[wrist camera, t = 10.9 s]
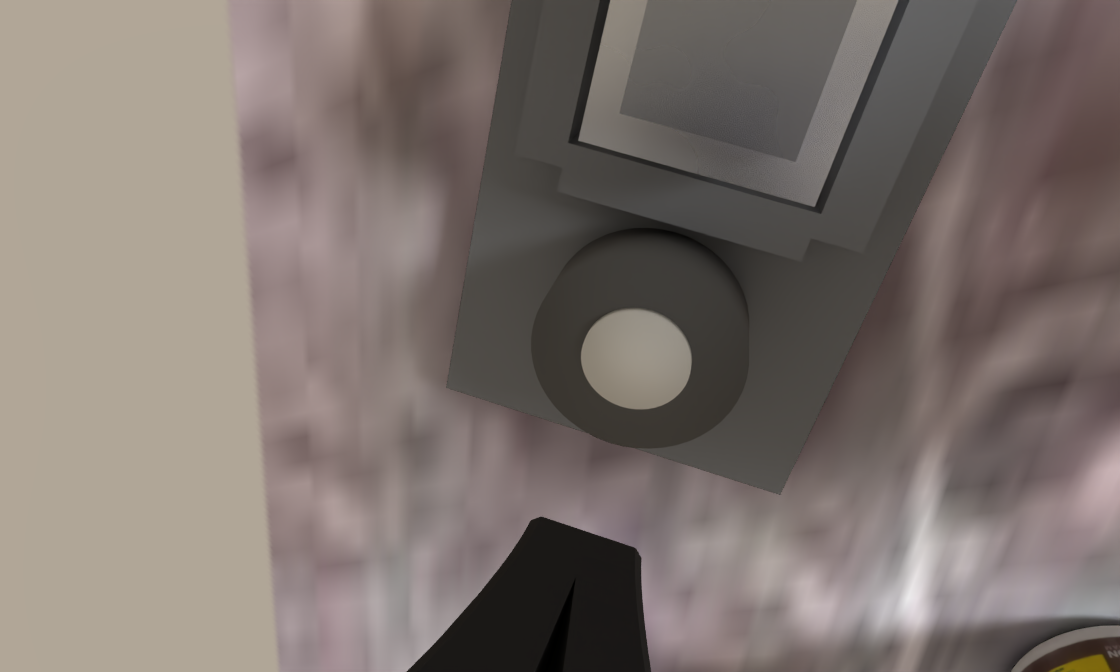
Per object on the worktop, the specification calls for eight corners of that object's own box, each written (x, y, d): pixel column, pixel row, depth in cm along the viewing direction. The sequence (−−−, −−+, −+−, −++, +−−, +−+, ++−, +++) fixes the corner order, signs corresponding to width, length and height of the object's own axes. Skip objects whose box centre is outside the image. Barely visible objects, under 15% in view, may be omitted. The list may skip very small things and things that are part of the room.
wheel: (779, 262, 15) (783, 296, 13) (712, 432, 17) (708, 479, 15) (572, 202, 15) (553, 229, 14) (532, 375, 17) (510, 416, 16)
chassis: (1101, -218, 12) (1177, -257, 10) (778, 471, 19) (782, 534, 17) (583, -329, 13) (549, -388, 11) (459, 369, 20) (424, 417, 18)
